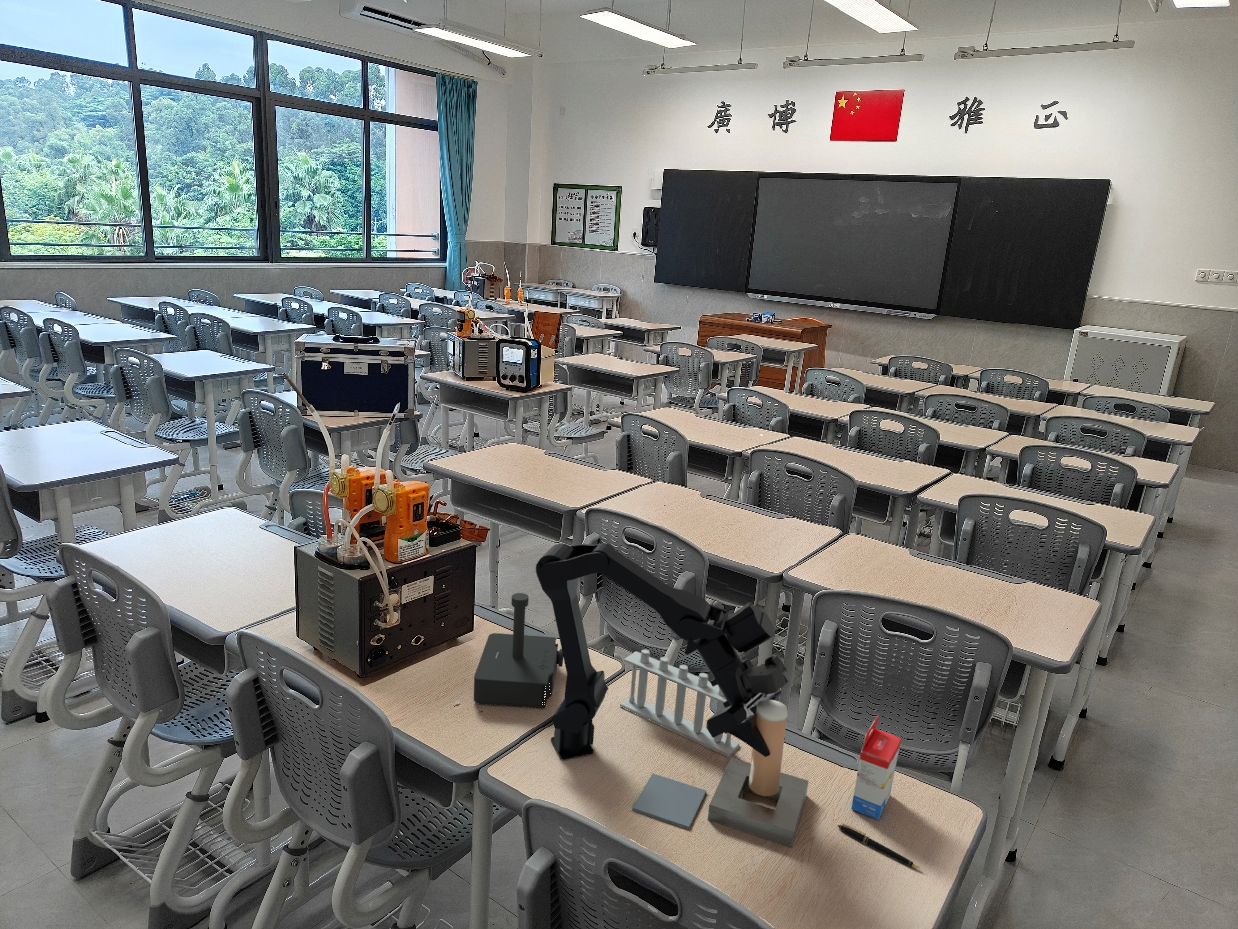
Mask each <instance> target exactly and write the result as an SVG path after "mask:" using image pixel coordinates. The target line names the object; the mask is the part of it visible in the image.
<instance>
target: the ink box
mask: <svg viewBox="0 0 1238 929" xmlns="http://www.w3.org/2000/svg"><path fill="white" fill-rule="evenodd" d="M879 718H880V717H879V715H877V716H876V717H875V719H874V721H873V722H872V724H871V725H870V727H869V729H868V730H867V732H866V733H865V735H864V739H863V742H862V746H861V751H860V756H859V761H858V762H859V763H858V767H857V774H856V780H855V786H854V789H853V790H854V791H853V797H852V803H851V808H850V809H851V810H853V811H855V812H858V813H861V814H863V815H865V816H868V817H870V818H873V819H875V820H877V821H879V820H880V817H881V815H882V813H883V811H884V809H885V807H886V805H887V802H888V801H889V798H890V797H891V794H892V787H893V783H894V778H895V772H896V767H897V762H898V758H899V752H900V746H901V743H902V742H901V741H902V738H901V737H899V736H896V735H894V734H891V733H888V732H886V731H883V730H880V729H877V726H878V723H879V722H878V721H879Z"/></svg>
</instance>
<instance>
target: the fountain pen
mask: <svg viewBox="0 0 1238 929" xmlns="http://www.w3.org/2000/svg"><path fill="white" fill-rule="evenodd" d="M836 826H837V827H838V829H839V830H840V831H842V832H843V833H845V834H847V835H848V836H850V837H851V838H853V839H855V840H856V841H858V842H861V843H862V844H864V845H866V846H868V847H870V848H872V849H875V850H877V851H879V852H880V853H882V854H884V855H886V856H888V857H890V858H892V859H893V860H897V861H899V862H901V863H902V864H904V865H906V866H909V867H911V868H912V867H914V868H915V869H920V870H923V869H922V868H921V867H920V866H919V865H916V864H914V861H912V860H910V859H909V858H907V857H904V856H903V855H901V853H898V852H896V851H894V850H893V849H890V848H889V847H887V846H885V845H883V844H882V843H880V842H878V841H876V840H874V839H872V838H870V837H869V836H867V835H866V834H867V833H866V832H863V831H861V830H859V829H857V828H855V827H853V826H850V825H848V824H845V823H842V824H837V825H836Z"/></svg>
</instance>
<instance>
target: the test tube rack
mask: <svg viewBox="0 0 1238 929" xmlns="http://www.w3.org/2000/svg"><path fill="white" fill-rule="evenodd" d="M650 655H651V653H650V650H649V649H645V648H644V649H642V650H641V652H639V651H634V652H633V653H631V654H629V655H628V656H627V657H625V658H624V659H623V661H624V662H626V663H628V664H631V665H632V670H631V671H632V673H631V681H630V682H631V683H630V684H631V685H630V694H629V695H630V696H629V697H627V698H626V699H624V700H623V701H622V702H620V703H619V707H620V706H622V707H624V708H626V709H628V710H630V711H632V712H634V713H636V714H638V715H637V716H639V715H640V716H639V717H641V716H642V717H641V718H643V717H644V718H643V719H645V718H646V720H647V719H650V720H651V721H650V722H652V721H653V722H652V723H654V722H655V723H654V724H656V723H657V724H656V725H658V724H659V725H658V726H660V725H662V726H664V727H663V728H665V727H666V728H665V729H667V730H669V729H670V731H671V730H672V731H671V732H673V731H674V732H673V733H675V732H676V734H678V733H679V734H678V735H680V734H681V735H680V736H682V735H683V736H682V737H684V736H685V738H686V737H687V739H688V740H691V741H693V742H695V743H698V744H699V745H702V746H704V747H706V748H708V749H710V750H712V751H714V752H717V753H719V754H721V755H724V756H725V757H728V758H729V757H730V756H731V755H733V753H734V752H735V751H736V750H737V749H738V748H740V743H739V742H738V741H736V740H734V739H732V735H731V734H730V733H727V734H726V736H725V735H724V733H722V734H720V735H718V736H716V737H714V738H712V736H711V735H710V733H709V731H708V730H707V728H706V726H704V716H705V706H706V699H707V697H709V698H711V699H713V700H716V701H717V704H716V711H715V713H717V712H718V711H720V710H722V709H724V708H725V706H724V705H723V703H724V702H725V701H726V698H725V696H724V695H723V693H722V691H721V690H720V688H719V686H718V685H716V686H714V687H713V686H712V685H711V683H710V681H711V680H710V681H709V675H708V673H705V672H700V673H698V674H699V675H698V676H697V675H694V674H693V673H690V672H689V669H688V668H689V667H688V666H687V665H685V664H681V665H679V667H675V666H673V665H671V664H669V662H670V661H669V658H668V657H666V656H662V657H660V659H659V660H658V659H657V658H654V657H651V656H650ZM637 668H639V671H638V672H639V674H638V685H637V695H635V691H636V681H637V680H636V678H637ZM649 673H652V674H655V675H657V687H656V697H655V704H653V703H651V702H649V701H647V700H646V699H647V688H648V677H649V676H648V675H649ZM668 681H670V682H673V683H676V684H677V686H676V695H675V707H674V713H673V712H671V711H669V710H666V709H665V702H666V691H667V682H668ZM687 689H689V690H692V691H694V692H696V701H695V709H694V718H693V719H694V720H693V721H691V720H689V719H686V718H684V712H685V699H686V692H687ZM626 709H625V710H626ZM628 710H627V711H628ZM630 711H629V712H630ZM632 712H631V713H632ZM634 713H633V714H634ZM636 714H635V715H636ZM662 726H661V727H662Z"/></svg>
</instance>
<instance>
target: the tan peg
mask: <svg viewBox="0 0 1238 929" xmlns="http://www.w3.org/2000/svg"><path fill="white" fill-rule="evenodd" d="M756 713H757V719H756V725H757V727H758V729H759V731H760V733H761V735H762V737H763V739H764V740H765V742H766V744H767V746H768V749H769V751H770V755H769V756H767V757H765V756H763V755H762V754H760V753H759V752H758V751H756V750H755V749H753V748H752V747H751V750H752V751H751V759H750V763H751V767H750V777H749V787H750V789H751V790H752V791H753V792H754V793H753V794H755V793H756V794H755V795H759V796H761V795H762V797H765V796H772V795H775V794H776V793H777V792H778V790H779V782H780V773H782V762H783V754H784V747H785V746H784V744H785V740H784V737H785V735H786V726H787V720H788V719H787V718H788V708H787V706H786V705H785V704H784V703H782V702H781V701H779V700H778V701H775V700H763V701H760V702H759V703H758V704H757V709H756ZM785 738H786V737H785Z"/></svg>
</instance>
